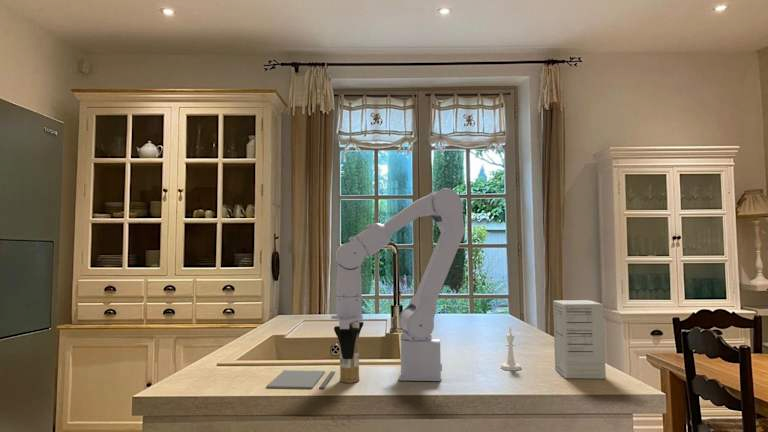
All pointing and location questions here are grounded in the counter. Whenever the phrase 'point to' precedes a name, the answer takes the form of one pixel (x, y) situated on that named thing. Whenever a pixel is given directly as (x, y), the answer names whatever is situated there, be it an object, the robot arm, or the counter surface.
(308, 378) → the mat
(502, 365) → the chess piece
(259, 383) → the counter surface
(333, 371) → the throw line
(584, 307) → the supplement box
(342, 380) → the sprinkles bottle
